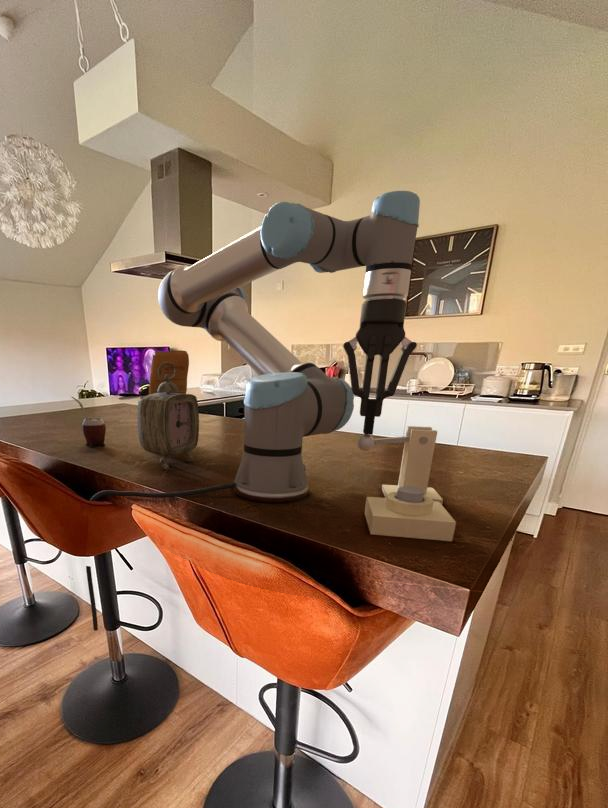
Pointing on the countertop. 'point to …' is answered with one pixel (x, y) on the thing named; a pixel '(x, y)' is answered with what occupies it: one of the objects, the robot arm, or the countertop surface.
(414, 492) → the grey round button
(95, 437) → the mate gourd
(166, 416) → the tabletop clock
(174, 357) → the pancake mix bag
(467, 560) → the countertop surface
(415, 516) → the cream rectangular base
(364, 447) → the flush lever
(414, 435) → the bracket
